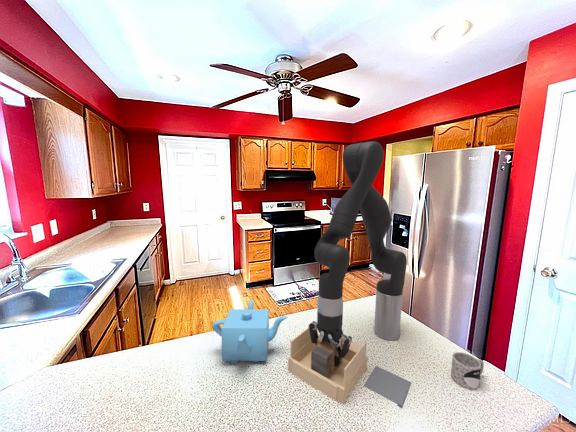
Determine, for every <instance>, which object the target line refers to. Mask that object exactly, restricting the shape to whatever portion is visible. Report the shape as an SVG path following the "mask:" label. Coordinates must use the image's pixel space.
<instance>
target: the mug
mask: <svg viewBox="0 0 576 432" xmlns="http://www.w3.org/2000/svg"><path fill="white" fill-rule="evenodd" d="M484 363H485V362H484V361H483V360H482V359H481V358H476V357H474V356H472V355H471V354H469V353H465V352H462V351H461V352H460V351H459V352H458V351H457V352H456V351H455V352H453V354H452V358H451V367H450V368H451V369H450V370H451V371H450V378H451V380H452V381H453V382H454V383H455V384H456V385H458V386H459V387H461V388H463V389H466V390H470V391H476V390H478V389H479V386H480V378H481V375H483V372H484Z"/></svg>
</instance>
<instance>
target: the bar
mask: <svg viewBox="0 0 576 432" xmlns="http://www.w3.org/2000/svg"><path fill="white" fill-rule="evenodd" d="M340 341H341V348H343V345H344V344H343V343H342V338H340ZM334 358H335V350H334V349H332V346H331V343H329V342H328V341H324V340H323V341H322V343H319V344H318V345H317V346H316V347H315V348H314V349H313V350H312V351H311V369H312V370H314V371H315V372H317V373H319V374H321V375H322V376H324V377H326V378H327V376H328V375H329V374H330V373H331V372H332V370H333V369H334V368H335V367H334ZM342 358H343V357H341V360H342Z"/></svg>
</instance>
